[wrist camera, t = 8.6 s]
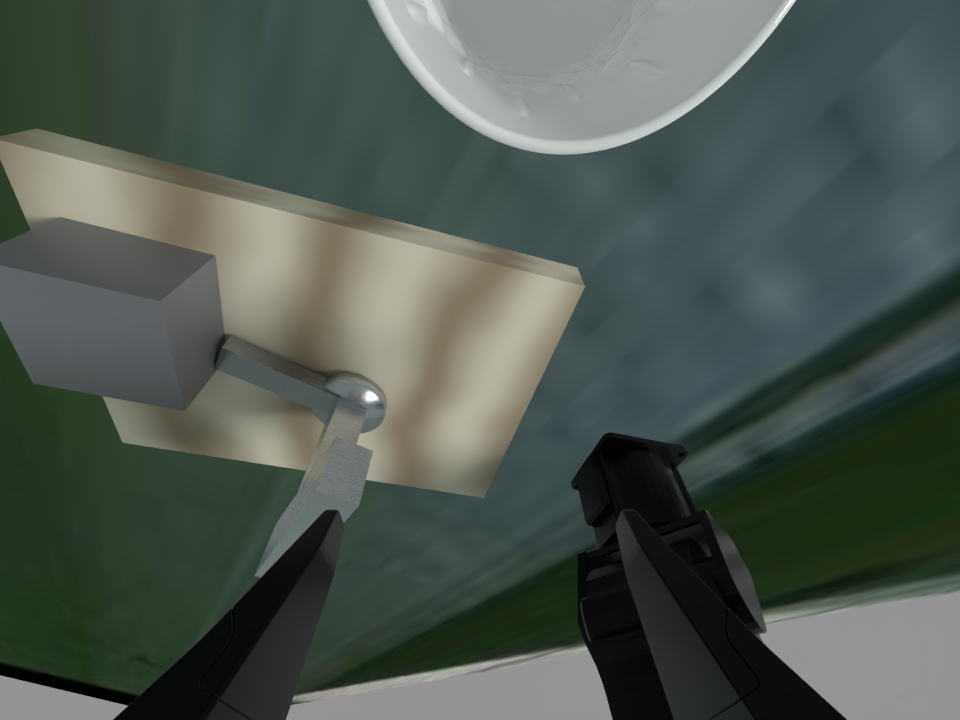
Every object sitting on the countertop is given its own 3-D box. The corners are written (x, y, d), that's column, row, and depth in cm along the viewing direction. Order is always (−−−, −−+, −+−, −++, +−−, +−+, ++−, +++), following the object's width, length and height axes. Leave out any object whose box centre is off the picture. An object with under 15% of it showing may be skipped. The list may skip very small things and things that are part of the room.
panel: (577, 267, 21) (585, 286, 19) (483, 474, 31) (483, 497, 30) (36, 128, 17) (-10, 137, 15) (142, 419, 28) (122, 442, 26)
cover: (215, 255, 18) (160, 301, 15) (227, 356, 22) (184, 411, 19) (61, 217, 17) (-33, 257, 14) (101, 330, 21) (32, 383, 17)
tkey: (248, 288, 19) (122, 426, 12) (416, 370, 22) (389, 515, 15) (210, 393, 23) (101, 537, 16) (356, 449, 26) (314, 590, 19)
